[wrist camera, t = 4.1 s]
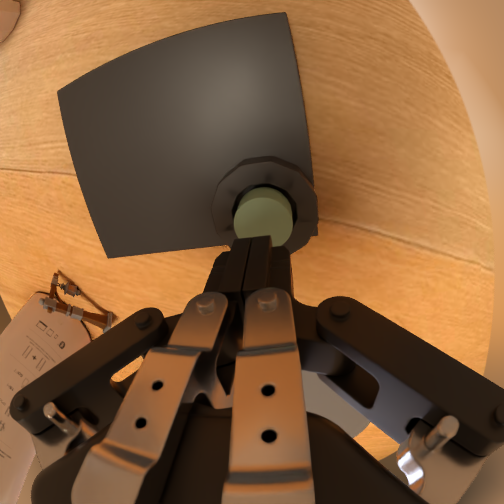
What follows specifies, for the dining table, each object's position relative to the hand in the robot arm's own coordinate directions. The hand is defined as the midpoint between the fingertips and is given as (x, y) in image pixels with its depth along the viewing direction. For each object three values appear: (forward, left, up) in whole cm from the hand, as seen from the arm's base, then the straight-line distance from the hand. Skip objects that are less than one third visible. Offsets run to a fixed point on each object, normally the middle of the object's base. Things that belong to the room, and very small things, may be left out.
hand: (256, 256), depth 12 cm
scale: (+5, -5, -7) cm, 10 cm away
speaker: (+28, +11, -7) cm, 31 cm away
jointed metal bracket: (+20, +7, -7) cm, 22 cm away
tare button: (0, 0, -5) cm, 5 cm away
